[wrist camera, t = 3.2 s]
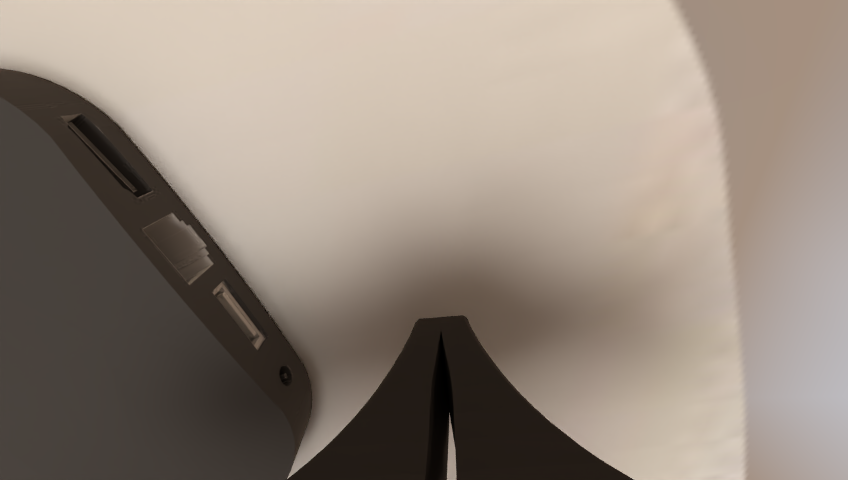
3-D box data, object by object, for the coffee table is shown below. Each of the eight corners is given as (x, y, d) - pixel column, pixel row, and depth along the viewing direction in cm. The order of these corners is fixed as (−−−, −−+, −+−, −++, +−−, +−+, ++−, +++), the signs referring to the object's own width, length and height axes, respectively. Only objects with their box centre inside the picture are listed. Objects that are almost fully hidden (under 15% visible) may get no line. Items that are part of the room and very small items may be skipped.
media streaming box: (-291, 258, 13) (-491, 310, 10) (42, 4, 10) (-107, -22, 7) (64, 537, 18) (-5, 625, 15) (358, 418, 15) (341, 499, 12)
